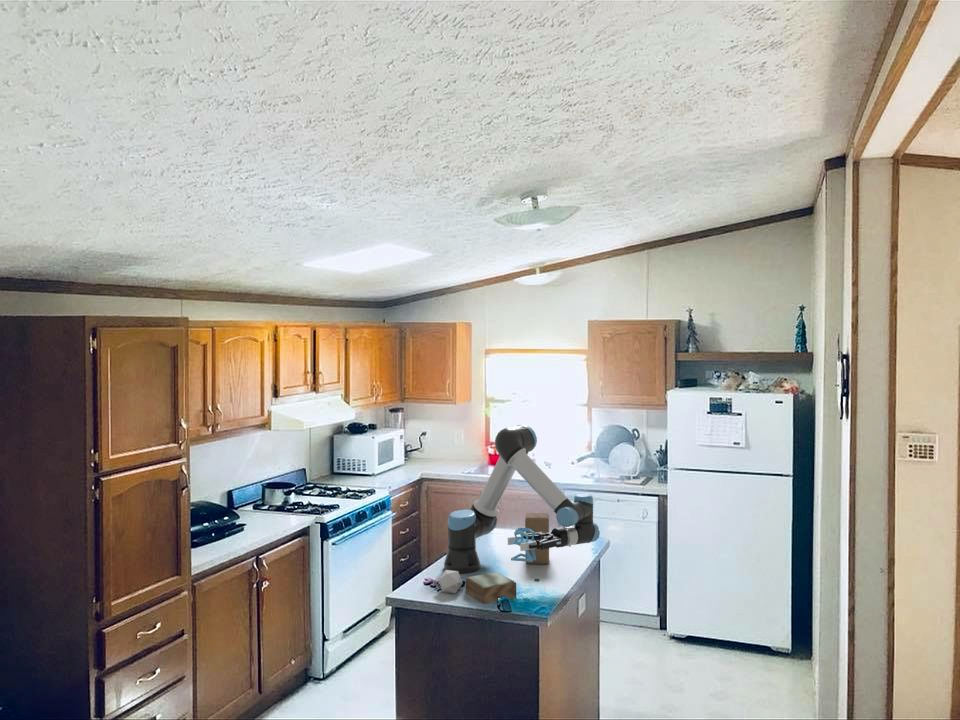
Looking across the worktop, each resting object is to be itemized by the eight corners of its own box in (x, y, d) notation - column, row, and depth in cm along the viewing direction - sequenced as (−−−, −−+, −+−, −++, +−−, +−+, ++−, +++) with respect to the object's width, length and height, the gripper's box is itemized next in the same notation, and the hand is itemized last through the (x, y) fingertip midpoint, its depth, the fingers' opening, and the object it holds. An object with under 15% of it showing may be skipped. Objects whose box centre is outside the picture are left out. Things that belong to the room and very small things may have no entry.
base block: (483, 603, 278) (483, 587, 277) (465, 592, 290) (465, 577, 290) (516, 597, 284) (516, 581, 284) (497, 586, 297) (497, 571, 296)
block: (549, 558, 335) (548, 512, 334) (549, 564, 325) (548, 518, 324) (526, 557, 336) (526, 512, 335) (525, 564, 326) (525, 517, 325)
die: (447, 598, 286) (462, 577, 286) (430, 584, 289) (446, 563, 290) (454, 599, 293) (469, 579, 294) (438, 585, 297) (453, 565, 298)
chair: (529, 563, 288) (529, 532, 288) (510, 560, 293) (510, 529, 292) (539, 558, 295) (539, 527, 294) (520, 555, 299) (520, 525, 299)
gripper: (579, 552, 293) (529, 561, 282) (548, 539, 312) (500, 547, 301) (579, 533, 292) (529, 541, 282) (548, 521, 311) (500, 528, 301)
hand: (514, 544), depth 291 cm, fingers closed on chair, 9 cm apart
